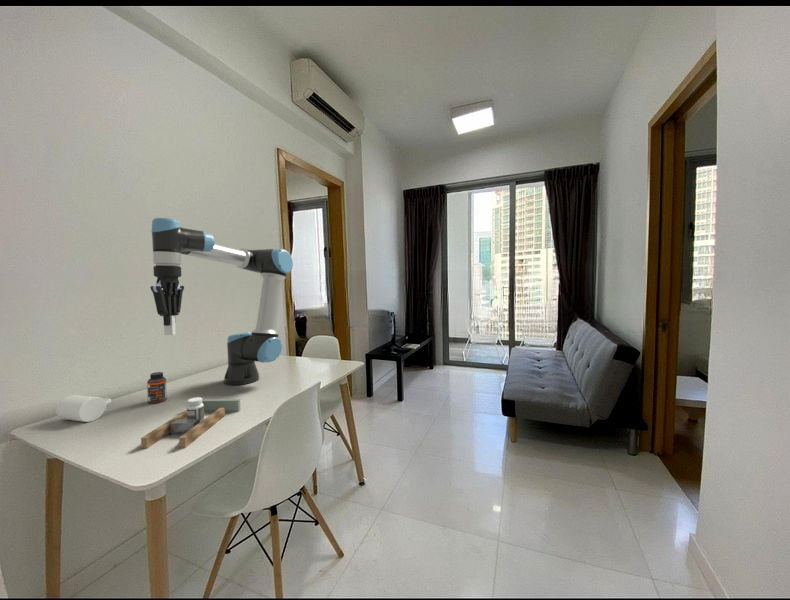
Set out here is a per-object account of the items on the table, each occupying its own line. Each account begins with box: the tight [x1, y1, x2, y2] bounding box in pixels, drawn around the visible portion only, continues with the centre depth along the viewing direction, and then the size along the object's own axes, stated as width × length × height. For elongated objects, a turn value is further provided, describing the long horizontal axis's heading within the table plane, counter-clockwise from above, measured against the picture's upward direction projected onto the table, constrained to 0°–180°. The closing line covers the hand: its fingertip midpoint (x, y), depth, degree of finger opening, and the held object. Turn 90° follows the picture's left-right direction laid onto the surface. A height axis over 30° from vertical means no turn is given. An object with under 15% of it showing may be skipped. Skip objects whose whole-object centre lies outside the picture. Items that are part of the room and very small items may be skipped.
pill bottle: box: [186, 396, 205, 422], centre depth 100 cm, size 5×5×8 cm
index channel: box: [140, 408, 226, 449], centre depth 96 cm, size 21×12×3 cm, turn 2°
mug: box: [55, 394, 113, 423], centre depth 106 cm, size 12×10×8 cm
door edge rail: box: [202, 398, 241, 413], centre depth 111 cm, size 2×18×4 cm, turn 92°
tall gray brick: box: [170, 419, 200, 435], centre depth 95 cm, size 3×7×4 cm, turn 92°
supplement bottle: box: [146, 371, 168, 405], centre depth 120 cm, size 6×6×11 cm
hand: (170, 334), depth 103 cm, fingers closed
